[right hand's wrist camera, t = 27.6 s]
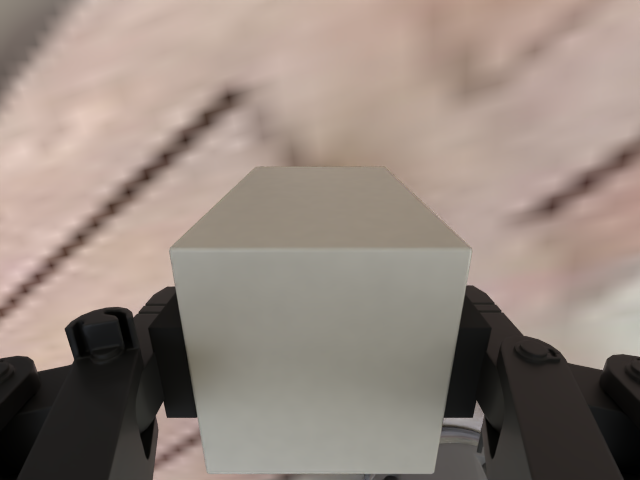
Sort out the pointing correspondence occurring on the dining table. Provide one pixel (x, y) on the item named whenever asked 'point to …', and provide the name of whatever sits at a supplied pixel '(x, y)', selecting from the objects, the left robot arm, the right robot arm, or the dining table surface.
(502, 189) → the dining table surface
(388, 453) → the block
